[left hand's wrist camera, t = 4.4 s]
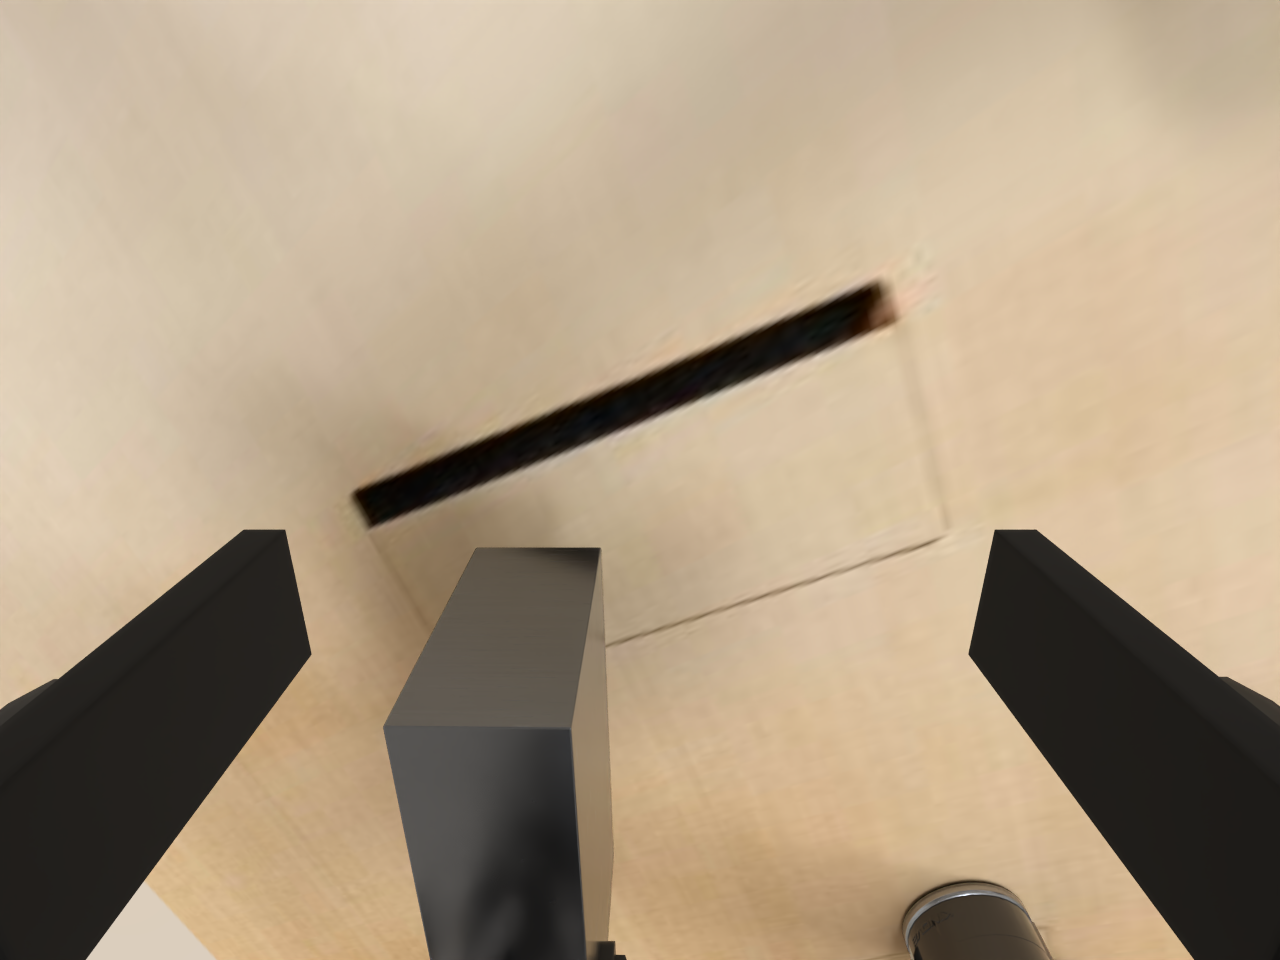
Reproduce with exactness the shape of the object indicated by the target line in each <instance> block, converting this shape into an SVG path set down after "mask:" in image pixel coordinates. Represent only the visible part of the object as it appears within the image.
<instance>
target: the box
mask: <svg viewBox="0 0 1280 960" xmlns="http://www.w3.org/2000/svg"><path fill="white" fill-rule="evenodd" d="M383 729H384V734H385V739H386V744H387V749H388V754H389V759H390V764H391V768H392V773H393V778H394V783H395V788H396V793H397V798H398V803H399V808H400V813H401V818H402V823H403V828H404V833H405V838H406V843H407V847H408V852H409V857H410V862H411V867H412V872H413V877H414V882H415V887H416V892H417V897H418V902H419V907H420V912H421V917H422V921H423V926H424V931H425V936H426V941H427V946H428V951H429V956H430V960H599V957H600V944H601V941H608V932H609V917H610V903H611V888H612V874H613V859H614V848H613V824H612V800H611V775H610V751H609V727H608V702H607V678H606V654H605V629H604V605H603V581H602V556H601V548H476V549H475V551H474V553H473V555H472V557H471V559H470V561H469V563H468V565H467V567H466V568H465V570H464V572H463V574H462V576H461V578H460V580H459V582H458V584H457V586H456V588H455V590H454V592H453V593H452V595H451V597H450V599H449V601H448V603H447V605H446V607H445V609H444V611H443V613H442V615H441V617H440V618H439V620H438V622H437V624H436V626H435V628H434V630H433V632H432V634H431V636H430V638H429V640H428V641H427V643H426V645H425V647H424V649H423V651H422V653H421V655H420V657H419V659H418V661H417V663H416V665H415V666H414V668H413V670H412V672H411V674H410V676H409V678H408V680H407V682H406V684H405V686H404V688H403V689H402V691H401V693H400V695H399V697H398V699H397V701H396V703H395V705H394V707H393V709H392V711H391V713H390V714H389V716H388V718H387V720H386V722H385V724H384V726H383Z"/></svg>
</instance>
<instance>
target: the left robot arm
mask: <svg viewBox="0 0 1280 960" xmlns="http://www.w3.org/2000/svg"><path fill="white" fill-rule="evenodd" d="M310 656H311V649H310V645H309V640H308V635H307V630H306V626H305V621H304V616H303V612H302V607H301V602H300V597H299V593H298V588H297V583H296V578H295V574H294V569H293V564H292V560H291V555H290V550H289V545H288V541H287V536H286V531H285V530H243V531H242V532H240V533H239V534H238V535H237V536H235V537H234V538H233V539H232V540H230V541H229V542H228V543H227V544H225V545H224V546H223V547H222V548H220V549H219V550H218V551H217V552H216V553H214V554H213V555H212V556H211V557H209V558H208V559H207V560H206V561H204V562H203V563H202V564H201V565H199V566H198V567H197V568H196V569H194V570H193V571H192V572H191V573H189V574H188V575H187V576H186V577H185V578H183V579H182V580H181V581H180V582H178V583H177V584H176V585H175V586H173V587H172V588H171V589H170V590H168V591H167V592H166V593H165V594H163V595H162V596H161V597H160V598H158V599H157V600H156V601H155V602H153V603H152V604H151V605H150V606H149V607H147V608H146V609H145V610H144V611H142V612H141V613H140V614H139V615H137V616H136V617H135V618H134V619H132V620H131V621H130V622H129V623H127V624H126V625H125V626H124V627H122V628H121V629H120V630H119V631H118V632H116V633H115V634H114V635H113V636H111V637H110V638H109V639H108V640H106V641H105V642H104V643H103V644H101V645H100V646H99V647H98V648H96V649H95V650H94V651H93V652H91V653H90V654H89V655H88V656H87V657H85V658H84V659H83V660H82V661H80V662H79V663H78V664H77V665H75V666H74V667H73V668H72V669H70V670H69V671H68V672H67V673H65V674H64V675H63V676H62V677H60V678H59V679H53V680H51V681H50V682H48V683H46V684H44V685H42V686H40V687H38V688H36V689H35V690H33V691H31V692H29V693H27V694H25V695H23V696H21V697H20V698H18V699H16V700H14V701H12V702H10V703H8V704H7V705H6V706H4V707H3V708H2V709H1V710H0V960H86V959H87V957H88V956H89V955H90V953H91V952H92V951H93V949H94V948H95V946H96V945H97V944H98V942H99V941H100V940H101V938H102V937H103V936H104V934H105V933H106V932H107V930H108V929H109V927H110V926H111V925H112V923H113V922H114V921H115V919H116V918H117V917H118V915H119V914H120V913H121V911H122V910H123V909H124V907H125V906H126V904H127V903H128V902H129V900H130V899H131V898H132V896H133V895H134V894H135V892H136V891H137V890H138V888H139V887H140V886H141V884H142V883H143V882H144V880H145V879H146V878H147V876H148V875H149V873H150V872H151V871H152V869H153V868H154V867H155V865H156V864H157V863H158V861H159V860H160V859H161V857H162V856H163V855H164V853H165V852H166V850H167V849H168V848H169V846H170V845H171V844H172V842H173V841H174V840H175V838H176V837H177V836H178V834H179V833H180V832H181V830H182V829H183V827H184V826H185V825H186V823H187V822H188V821H189V819H190V818H191V817H192V815H193V814H194V813H195V811H196V810H197V809H198V807H199V806H200V805H201V803H202V802H203V800H204V799H205V798H206V796H207V795H208V794H209V792H210V791H211V790H212V788H213V787H214V786H215V784H216V783H217V782H218V780H219V779H220V777H221V776H222V775H223V773H224V772H225V771H226V769H227V768H228V767H229V765H230V764H231V763H232V761H233V760H234V759H235V757H236V756H237V754H238V753H239V752H240V750H241V749H242V748H243V746H244V745H245V744H246V742H247V741H248V740H249V738H250V737H251V736H252V734H253V733H254V732H255V730H256V729H257V727H258V726H259V725H260V723H261V722H262V721H263V719H264V718H265V717H266V715H267V714H268V713H269V711H270V710H271V709H272V707H273V706H274V704H275V703H276V702H277V700H278V699H279V698H280V696H281V695H282V694H283V692H284V691H285V690H286V688H287V687H288V686H289V684H290V683H291V681H292V680H293V679H294V677H295V676H296V675H297V673H298V672H299V671H300V669H301V668H302V667H303V665H304V664H305V663H306V661H307V660H308V658H309V657H310ZM969 656H970V657H971V659H972V660H973V661H974V663H975V664H976V665H977V667H978V668H979V669H980V671H981V672H982V673H983V675H984V676H985V677H986V679H987V680H988V681H989V683H990V684H991V686H992V687H993V688H994V690H995V691H996V692H997V694H998V695H999V696H1000V698H1001V699H1002V700H1003V702H1004V703H1005V704H1006V706H1007V707H1008V709H1009V710H1010V711H1011V713H1012V714H1013V715H1014V717H1015V718H1016V719H1017V721H1018V722H1019V723H1020V725H1021V726H1022V727H1023V729H1024V730H1025V732H1026V733H1027V734H1028V736H1029V737H1030V738H1031V740H1032V741H1033V742H1034V744H1035V745H1036V746H1037V748H1038V749H1039V750H1040V752H1041V753H1042V754H1043V756H1044V757H1045V759H1046V760H1047V761H1048V763H1049V764H1050V765H1051V767H1052V768H1053V769H1054V771H1055V772H1056V773H1057V775H1058V776H1059V777H1060V779H1061V780H1062V782H1063V783H1064V784H1065V786H1066V787H1067V788H1068V790H1069V791H1070V792H1071V794H1072V795H1073V796H1074V798H1075V799H1076V800H1077V802H1078V803H1079V805H1080V806H1081V807H1082V809H1083V810H1084V811H1085V813H1086V814H1087V815H1088V817H1089V818H1090V819H1091V821H1092V822H1093V823H1094V825H1095V826H1096V827H1097V829H1098V830H1099V832H1100V833H1101V834H1102V836H1103V837H1104V838H1105V840H1106V841H1107V842H1108V844H1109V845H1110V846H1111V848H1112V849H1113V850H1114V852H1115V853H1116V855H1117V856H1118V857H1119V859H1120V860H1121V861H1122V863H1123V864H1124V865H1125V867H1126V868H1127V869H1128V871H1129V872H1130V873H1131V875H1132V876H1133V878H1134V879H1135V880H1136V882H1137V883H1138V884H1139V886H1140V887H1141V888H1142V890H1143V891H1144V892H1145V894H1146V895H1147V896H1148V898H1149V899H1150V901H1151V902H1152V903H1153V905H1154V906H1155V907H1156V909H1157V910H1158V911H1159V913H1160V914H1161V915H1162V917H1163V918H1164V919H1165V921H1166V922H1167V923H1168V925H1169V926H1170V928H1171V929H1172V930H1173V932H1174V933H1175V934H1176V936H1177V937H1178V938H1179V940H1180V941H1181V942H1182V944H1183V945H1184V946H1185V948H1186V949H1187V951H1188V952H1189V953H1190V955H1191V956H1192V957H1193V959H1194V960H1280V706H1279V705H1277V704H1276V703H1275V702H1273V701H1272V700H1270V699H1268V698H1266V697H1264V696H1262V695H1260V694H1259V693H1257V692H1255V691H1253V690H1251V689H1249V688H1247V687H1245V686H1243V685H1242V684H1240V683H1238V682H1236V681H1234V680H1232V679H1230V678H1228V677H1218V676H1217V675H1216V674H1215V673H1213V672H1212V671H1211V670H1210V669H1208V668H1207V667H1206V666H1205V665H1203V664H1202V663H1201V662H1200V661H1198V660H1197V659H1196V658H1195V657H1193V656H1192V655H1191V654H1190V653H1189V652H1187V651H1186V650H1185V649H1184V648H1182V647H1181V646H1180V645H1179V644H1177V643H1176V642H1175V641H1174V640H1172V639H1171V638H1170V637H1169V636H1167V635H1166V634H1165V633H1164V632H1162V631H1161V630H1160V629H1159V628H1158V627H1156V626H1155V625H1154V624H1153V623H1151V622H1150V621H1149V620H1148V619H1146V618H1145V617H1144V616H1143V615H1141V614H1140V613H1139V612H1138V611H1136V610H1135V609H1134V608H1133V607H1131V606H1130V605H1129V604H1128V603H1126V602H1125V601H1124V600H1123V599H1122V598H1120V597H1119V596H1118V595H1117V594H1115V593H1114V592H1113V591H1112V590H1110V589H1109V588H1108V587H1107V586H1105V585H1104V584H1103V583H1102V582H1100V581H1099V580H1098V579H1097V578H1095V577H1094V576H1093V575H1092V574H1091V573H1089V572H1088V571H1087V570H1086V569H1084V568H1083V567H1082V566H1081V565H1079V564H1078V563H1077V562H1076V561H1074V560H1073V559H1072V558H1071V557H1069V556H1068V555H1067V554H1066V553H1064V552H1063V551H1062V550H1061V549H1060V548H1058V547H1057V546H1056V545H1055V544H1053V543H1052V542H1051V541H1050V540H1048V539H1047V538H1046V537H1045V536H1043V535H1042V534H1041V533H1040V532H1038V531H1037V530H995V531H994V536H993V541H992V545H991V550H990V555H989V560H988V564H987V569H986V574H985V578H984V583H983V588H982V593H981V597H980V602H979V607H978V611H977V616H976V621H975V626H974V630H973V635H972V640H971V645H970V649H969Z"/></svg>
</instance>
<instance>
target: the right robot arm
mask: <svg viewBox="0 0 1280 960" xmlns="http://www.w3.org/2000/svg"><path fill="white" fill-rule="evenodd" d="M902 932H903V937H904V940H905V943H906V946H907V949H908V951H909V953H910V957H911V960H1053V958H1052V956H1051V954H1050V952H1049V950H1048V949H1047V947H1046V945H1045V943H1044V941H1043V939H1042V937H1041V935H1040V933H1039V931H1038V929H1037V927H1036V925H1035V924H1034V923H1033V922H1031V919H1030V917H1029V915H1028V913H1027V911H1026V909H1025V907H1024V905H1023V903H1022V902H1021V901H1020V899H1019V898H1018V897H1017V896H1016V895H1014V894H1013V893H1012V892H1010V891H1008V890H1006V889H1004V888H1002V887H999V886H996V885H992V884H986V883H960V884H955V885H950V886H947V887H943V888H940V889H938V890H935V891H933V892H931V893H929V894H927V895H926V896H924V897H923V898H921V899H920V900H919V901H917V902H916V903H915V904H914V905H913V906H912V907H911V908H910V910H909V911H908V913H907V914H906V916H905V919H904V921H903V927H902ZM599 960H627V959H626V957H625V955H616V951H615V941H601V944H600V957H599Z"/></svg>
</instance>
